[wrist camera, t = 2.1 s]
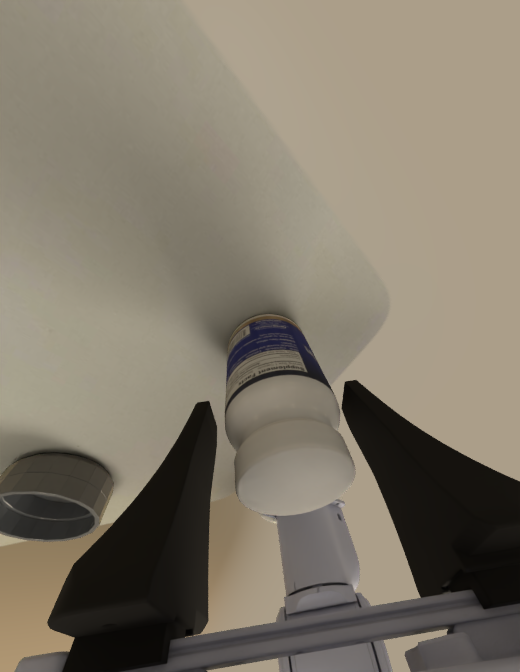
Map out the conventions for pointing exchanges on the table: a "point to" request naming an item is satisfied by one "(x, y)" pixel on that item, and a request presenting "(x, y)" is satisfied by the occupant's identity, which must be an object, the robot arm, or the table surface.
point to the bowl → (53, 497)
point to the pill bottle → (282, 421)
